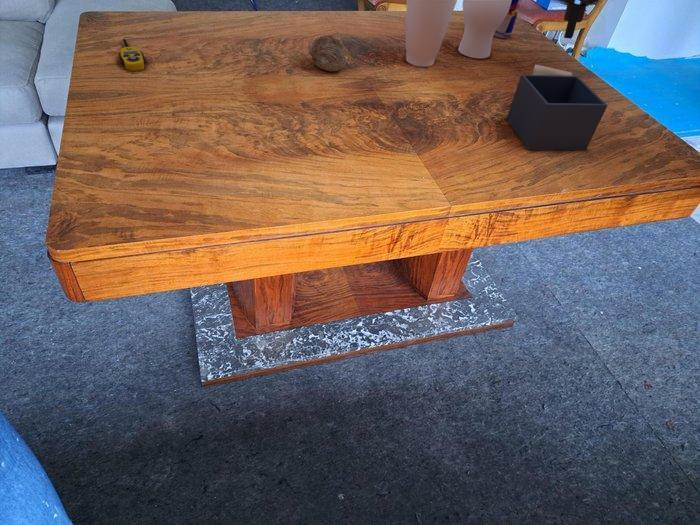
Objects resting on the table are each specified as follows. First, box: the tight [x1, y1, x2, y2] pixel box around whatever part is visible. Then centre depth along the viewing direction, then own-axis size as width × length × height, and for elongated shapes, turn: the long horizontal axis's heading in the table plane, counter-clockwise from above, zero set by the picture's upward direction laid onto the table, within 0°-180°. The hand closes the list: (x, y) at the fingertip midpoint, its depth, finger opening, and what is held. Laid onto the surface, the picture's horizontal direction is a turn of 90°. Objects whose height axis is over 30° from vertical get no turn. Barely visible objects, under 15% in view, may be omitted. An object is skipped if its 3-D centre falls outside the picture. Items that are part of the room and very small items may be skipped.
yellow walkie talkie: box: [118, 38, 146, 72], centre depth 111 cm, size 5×2×15 cm
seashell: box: [307, 35, 347, 72], centre depth 114 cm, size 9×7×8 cm
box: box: [506, 74, 608, 151], centre depth 100 cm, size 12×12×10 cm
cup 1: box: [404, 0, 458, 68], centre depth 119 cm, size 12×12×16 cm
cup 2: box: [457, 0, 512, 59], centre depth 125 cm, size 11×11×16 cm
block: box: [531, 64, 573, 76], centre depth 110 cm, size 8×8×7 cm
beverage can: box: [494, 0, 522, 39], centre depth 136 cm, size 5×5×15 cm
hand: (568, 37), depth 113 cm, fingers closed
